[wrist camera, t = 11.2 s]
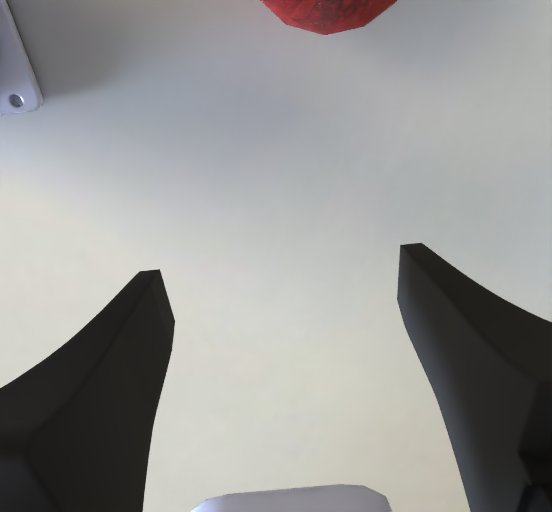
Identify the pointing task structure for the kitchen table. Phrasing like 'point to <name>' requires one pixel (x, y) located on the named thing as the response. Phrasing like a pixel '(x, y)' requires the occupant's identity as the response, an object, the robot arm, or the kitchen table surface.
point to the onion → (327, 13)
